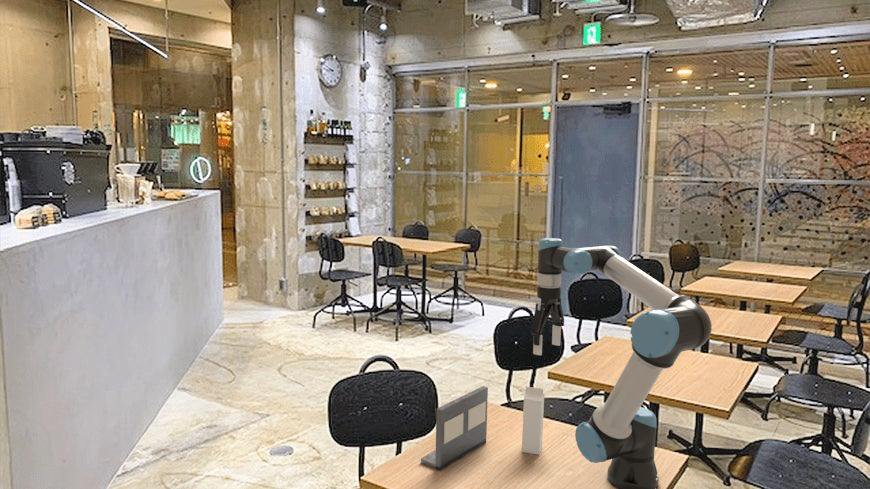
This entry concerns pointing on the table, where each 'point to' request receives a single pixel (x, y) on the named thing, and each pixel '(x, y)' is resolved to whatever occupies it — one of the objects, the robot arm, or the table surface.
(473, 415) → the label panel
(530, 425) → the milk
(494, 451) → the table surface
